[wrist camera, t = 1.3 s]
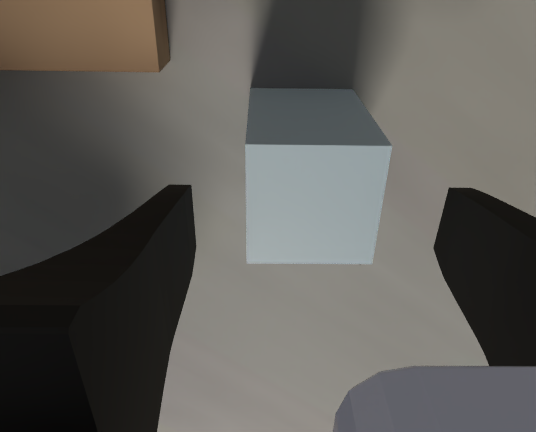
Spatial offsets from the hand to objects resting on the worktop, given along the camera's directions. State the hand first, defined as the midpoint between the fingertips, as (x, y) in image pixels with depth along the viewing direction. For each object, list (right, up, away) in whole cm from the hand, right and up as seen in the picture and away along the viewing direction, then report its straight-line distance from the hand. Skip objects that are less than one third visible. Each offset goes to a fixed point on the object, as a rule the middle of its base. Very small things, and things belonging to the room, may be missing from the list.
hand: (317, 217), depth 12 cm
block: (0, +3, +6) cm, 7 cm away
